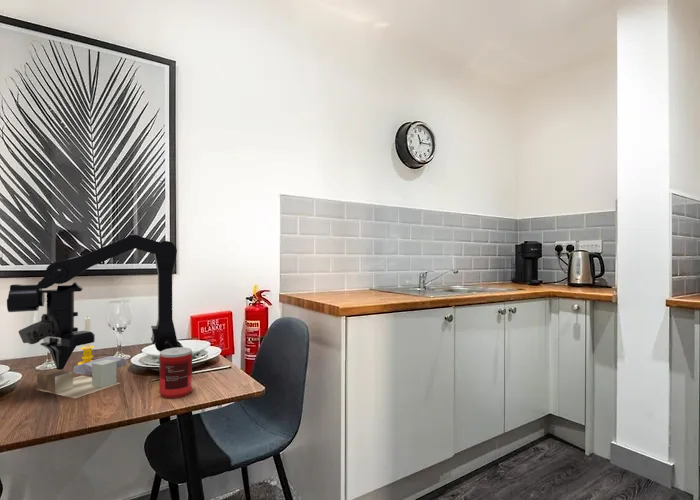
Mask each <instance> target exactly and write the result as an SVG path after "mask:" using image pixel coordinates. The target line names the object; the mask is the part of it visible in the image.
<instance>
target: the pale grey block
mask: <svg viewBox="0 0 700 500" xmlns="http://www.w3.org/2000/svg"><path fill="white" fill-rule="evenodd" d="M116 363H117V361H113V360H107V359H106V360H103V361H99V362H95V363H92V375H91V377H92V386H96V387H100V388H103V387H106V386H109V385H112V384H115V383H116V382H117V368H116Z"/></svg>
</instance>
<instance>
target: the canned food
mask: <svg viewBox="0 0 700 500" xmlns="http://www.w3.org/2000/svg"><path fill="white" fill-rule="evenodd" d="M192 379H193V351H192V348H190V347H184V346H183V347H178V348H169V349H165V350H163V351H161V352H159V394H160V396H161V397H162V398H165V399H177V398H178V399H179V398H183V397H185V396H188V395H189V394H191V392H192V388H193V387H192V386H193V380H192Z"/></svg>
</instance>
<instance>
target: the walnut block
mask: <svg viewBox="0 0 700 500" xmlns="http://www.w3.org/2000/svg"><path fill="white" fill-rule="evenodd" d="M36 374H37V375H36V377H37V379H36V380H37V381H36V383H37V384H36V385H37V386H36V389H42V390H46V391H50V392H55V393H58V392H61V391H64V390H67V389H71V388H73V378H74V373H73V371H72V372H71V371H66V370H63V369H61V370H58V369H57V368H53V369H48V370H44V371H41V372H37V373H36Z"/></svg>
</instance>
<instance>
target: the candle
mask: <svg viewBox="0 0 700 500" xmlns="http://www.w3.org/2000/svg"><path fill="white" fill-rule="evenodd" d="M83 331H89V332H91V317H89V316H87V317H85V318H84V330H83ZM91 344H92V343H88V344H84V345H83V346H82V347H79V349H80V350H83V352H82V354H83V355H82V356H81V359H82V361H79V362H78V363H77V365H80V364H83V363H88V362H90V361H93V358H94V355H93V353H92V349H94V348H95V346H93V345H91Z"/></svg>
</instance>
